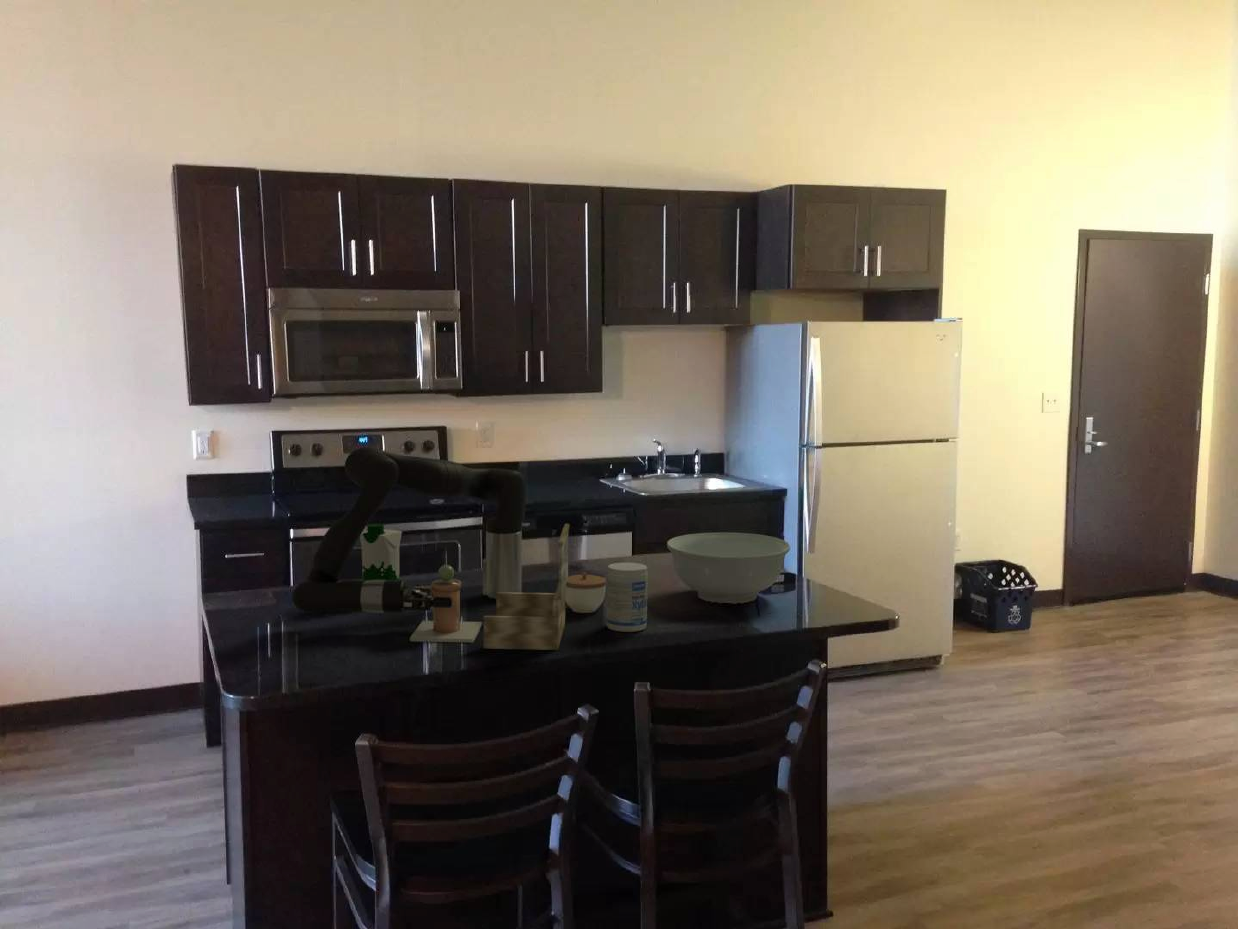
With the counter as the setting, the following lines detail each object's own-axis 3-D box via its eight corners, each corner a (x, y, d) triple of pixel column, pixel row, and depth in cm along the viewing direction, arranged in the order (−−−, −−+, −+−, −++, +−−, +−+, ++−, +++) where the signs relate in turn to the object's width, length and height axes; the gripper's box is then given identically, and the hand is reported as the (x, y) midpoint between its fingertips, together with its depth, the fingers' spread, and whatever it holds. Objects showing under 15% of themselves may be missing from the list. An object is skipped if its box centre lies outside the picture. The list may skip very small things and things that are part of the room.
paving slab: (409, 641, 235) (409, 637, 235) (422, 624, 249) (422, 620, 248) (472, 642, 234) (472, 639, 234) (482, 625, 248) (482, 622, 248)
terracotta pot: (425, 630, 240) (425, 565, 238) (445, 623, 246) (444, 560, 244) (448, 635, 237) (447, 569, 235) (467, 628, 243) (466, 564, 241)
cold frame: (483, 648, 230) (483, 540, 227) (497, 620, 252) (497, 522, 250) (561, 650, 230) (562, 542, 227) (568, 622, 252) (569, 523, 249)
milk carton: (356, 603, 267) (355, 525, 264) (378, 595, 275) (377, 519, 273) (384, 607, 263) (383, 528, 261) (406, 599, 271) (406, 522, 269)
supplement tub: (640, 635, 242) (641, 572, 241) (600, 631, 245) (601, 568, 243) (651, 624, 252) (652, 563, 250) (613, 620, 254) (614, 560, 253)
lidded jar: (600, 616, 258) (601, 579, 256) (557, 613, 260) (558, 576, 259) (609, 606, 268) (610, 569, 267) (568, 603, 270) (568, 567, 269)
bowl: (647, 604, 270) (648, 548, 268) (687, 578, 300) (689, 527, 298) (771, 619, 258) (773, 560, 256) (800, 590, 288) (802, 537, 286)
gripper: (376, 587, 233) (449, 589, 233) (391, 573, 247) (460, 574, 247) (376, 620, 234) (449, 622, 234) (391, 604, 248) (460, 605, 248)
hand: (455, 597), depth 240 cm, fingers open, 8 cm apart
